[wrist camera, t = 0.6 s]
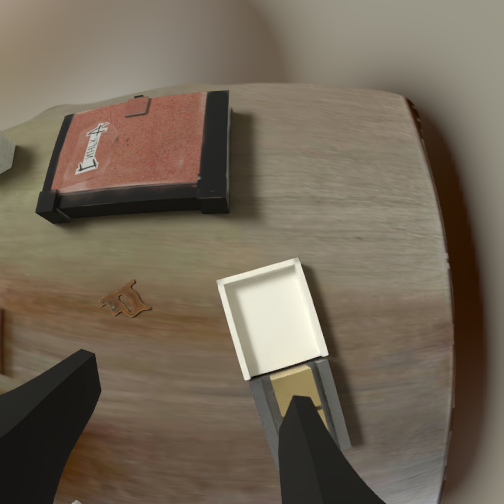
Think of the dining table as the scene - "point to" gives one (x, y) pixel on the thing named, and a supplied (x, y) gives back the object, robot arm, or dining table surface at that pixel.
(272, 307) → the tray
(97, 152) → the book
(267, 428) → the rail
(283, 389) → the brass chip
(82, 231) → the dining table surface
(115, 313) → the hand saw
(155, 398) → the dining table surface
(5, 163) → the small box
